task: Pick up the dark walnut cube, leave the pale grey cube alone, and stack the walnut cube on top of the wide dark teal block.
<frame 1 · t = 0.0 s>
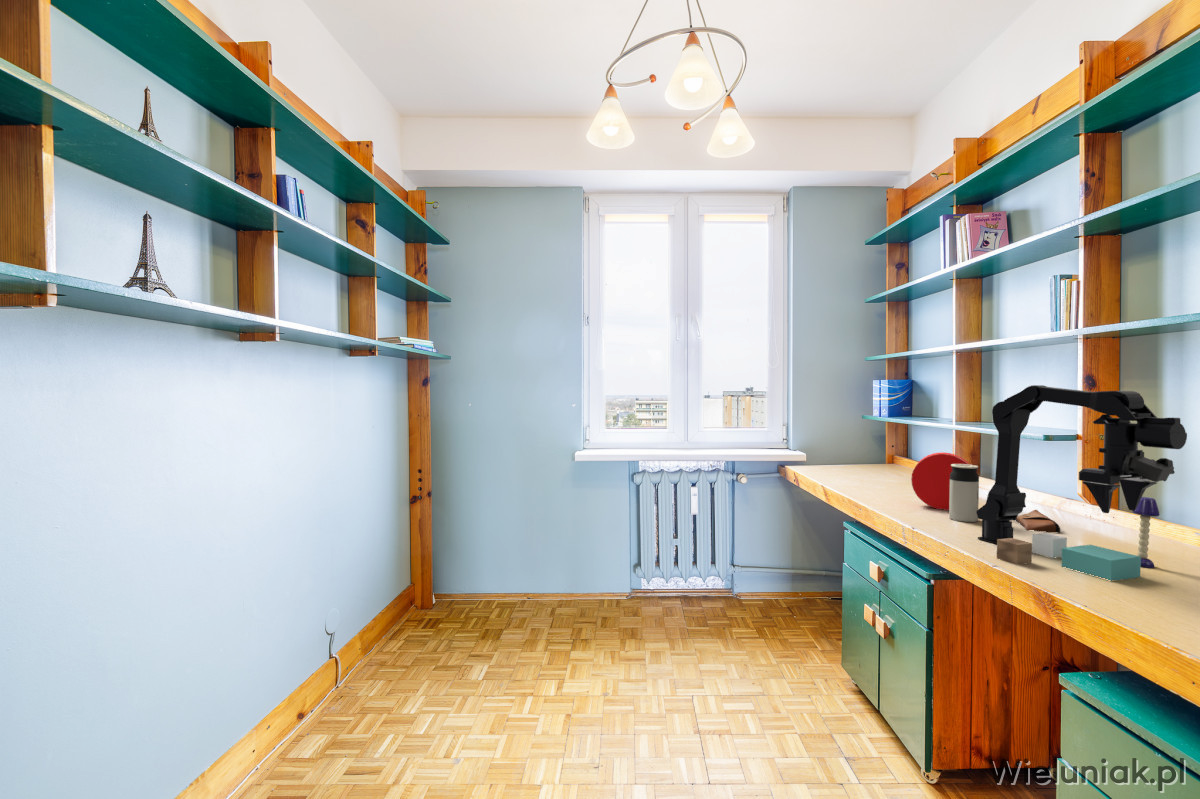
hand: (1119, 511, 126), 15 cm above the table, tool pointing down, fingers open, 9 cm apart
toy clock: (943, 508, 196), on the table
walnut cube: (1013, 561, 136), on the table
sunglasses case: (1033, 527, 172), on the table
grey cube: (1048, 555, 141), on the table
travel mug: (963, 520, 179), on the table
teal base block: (1099, 573, 128), on the table
toy lamp: (1144, 566, 133), on the table
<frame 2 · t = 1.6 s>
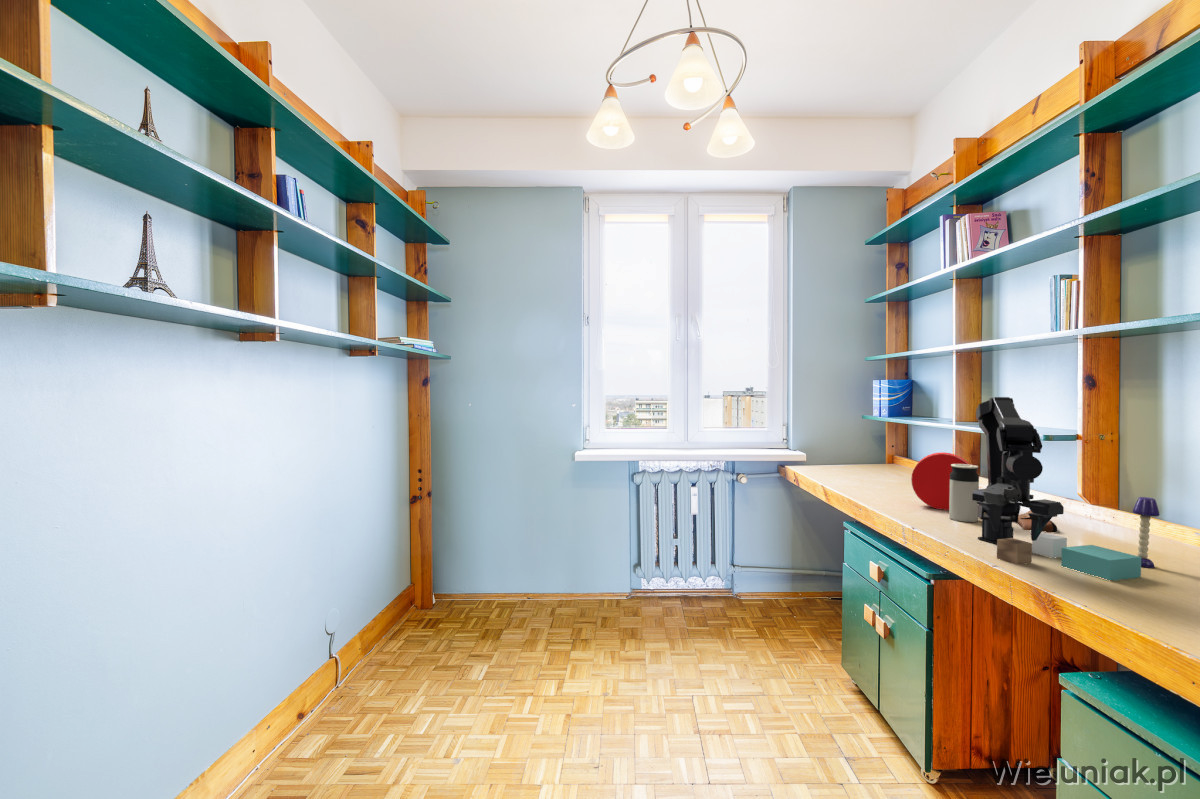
hand: (1014, 535, 136), 6 cm above the table, tool pointing down, fingers open, 9 cm apart
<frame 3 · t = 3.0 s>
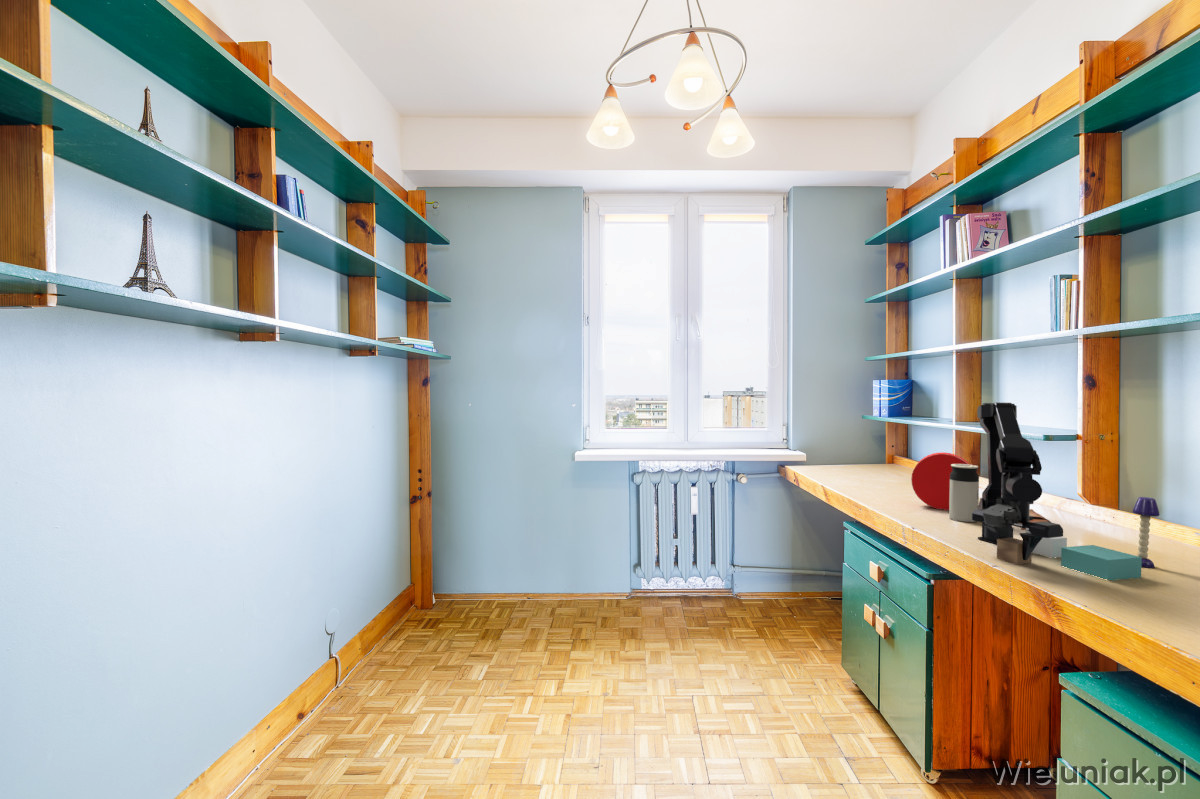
hand: (1014, 556, 136), 1 cm above the table, tool pointing down, fingers closed on walnut cube, 5 cm apart
walnut cube: (1013, 560, 136), on the table, touching gripper
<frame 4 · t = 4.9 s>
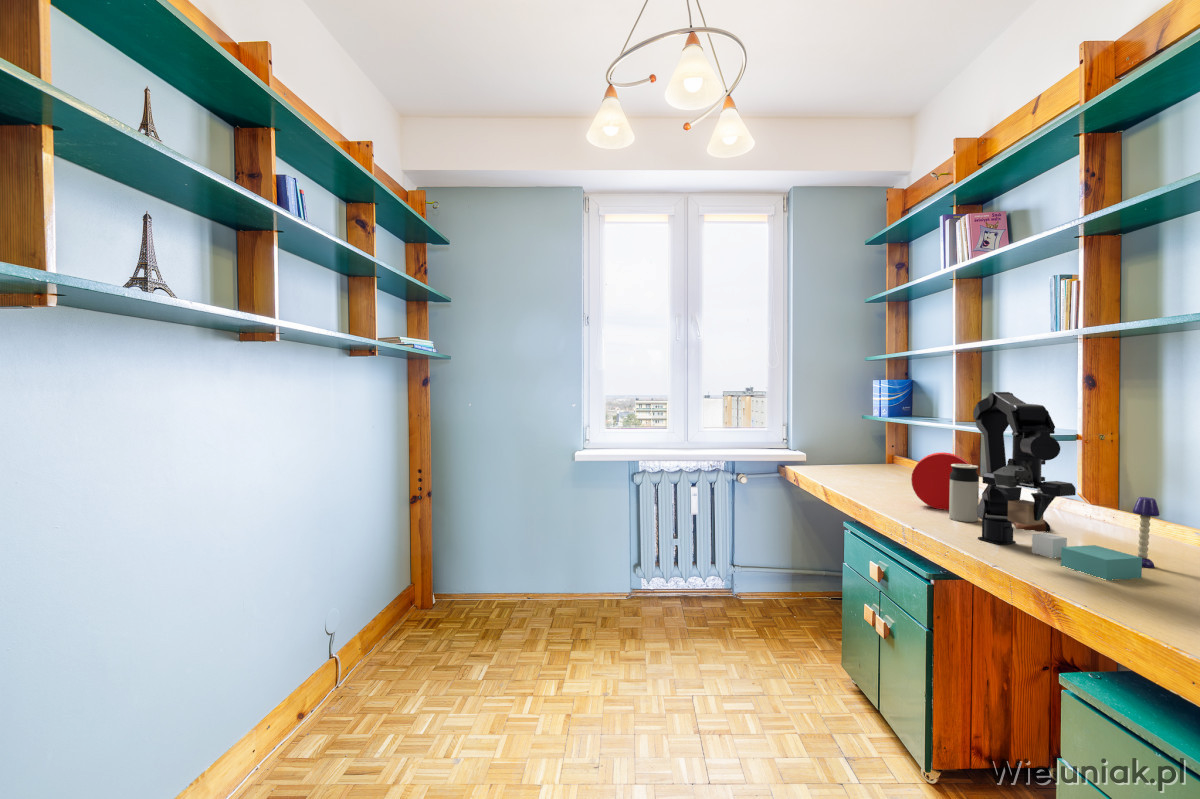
hand: (1025, 518, 135), 11 cm above the table, tool pointing down, fingers closed on walnut cube, 5 cm apart
walnut cube: (1025, 522, 135), point 10 cm above the table, touching gripper
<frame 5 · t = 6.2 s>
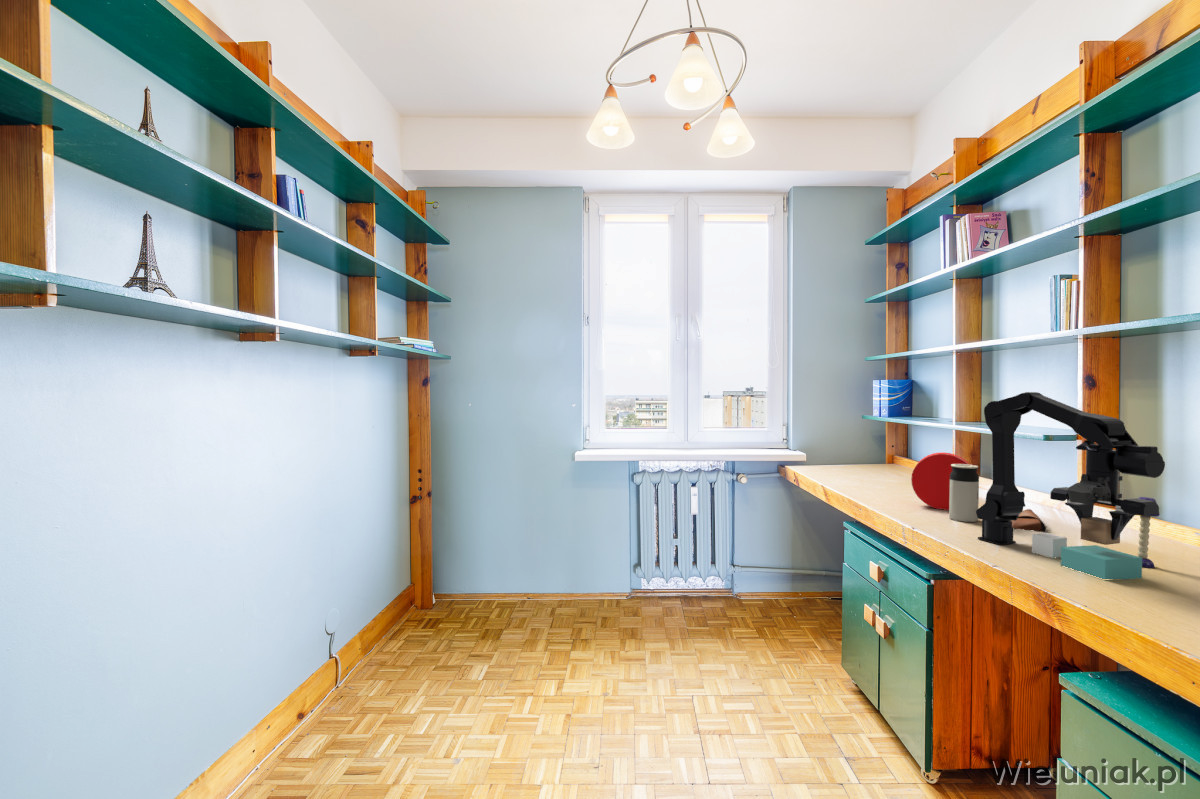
hand: (1100, 536, 128), 8 cm above the table, tool pointing down, fingers closed on walnut cube, 5 cm apart
walnut cube: (1099, 541, 128), point 7 cm above the table, touching gripper
when the fingers open (7 cm above the table, at t = 7.1 s): walnut cube drops 2 cm, resting on teal base block.
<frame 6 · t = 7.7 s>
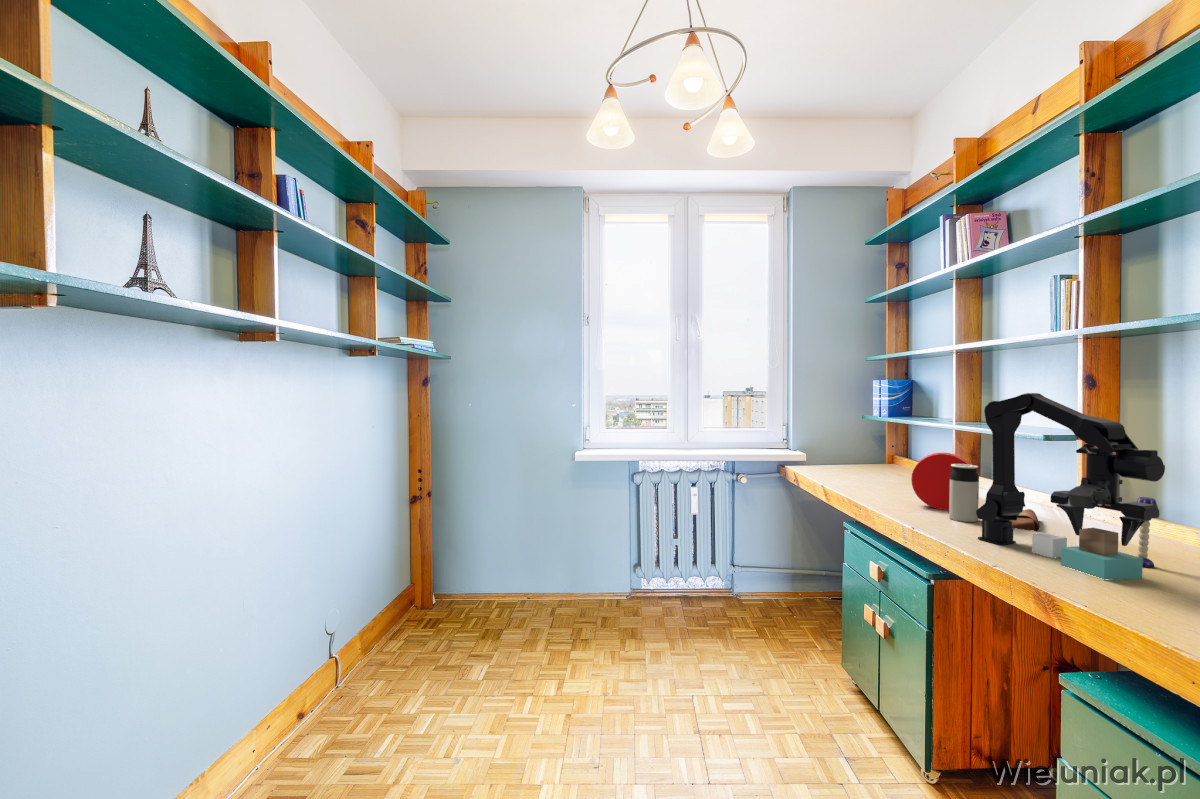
hand: (1100, 540, 128), 7 cm above the table, tool pointing down, fingers open, 9 cm apart
walnut cube: (1098, 551, 128), point 5 cm above the table, touching teal base block
teal base block: (1100, 573, 128), on the table, touching walnut cube
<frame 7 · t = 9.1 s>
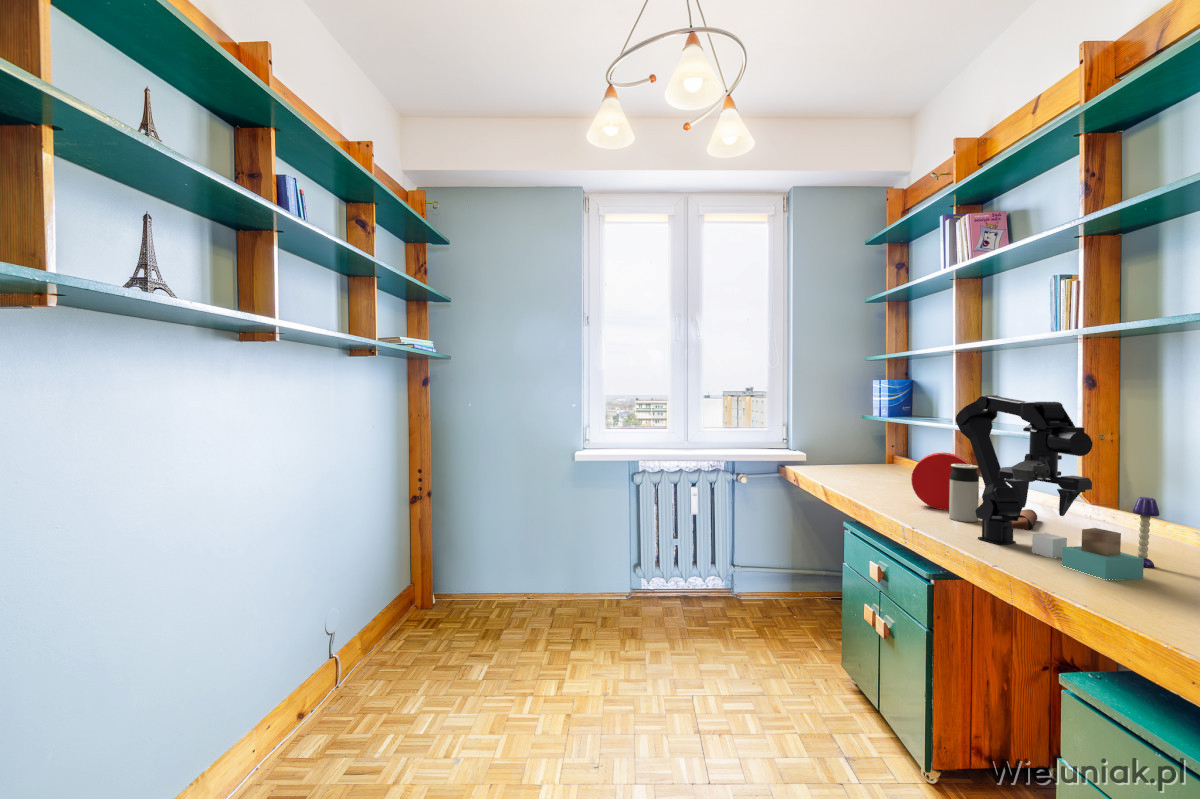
hand: (1041, 511, 139), 12 cm above the table, tool pointing down, fingers open, 9 cm apart
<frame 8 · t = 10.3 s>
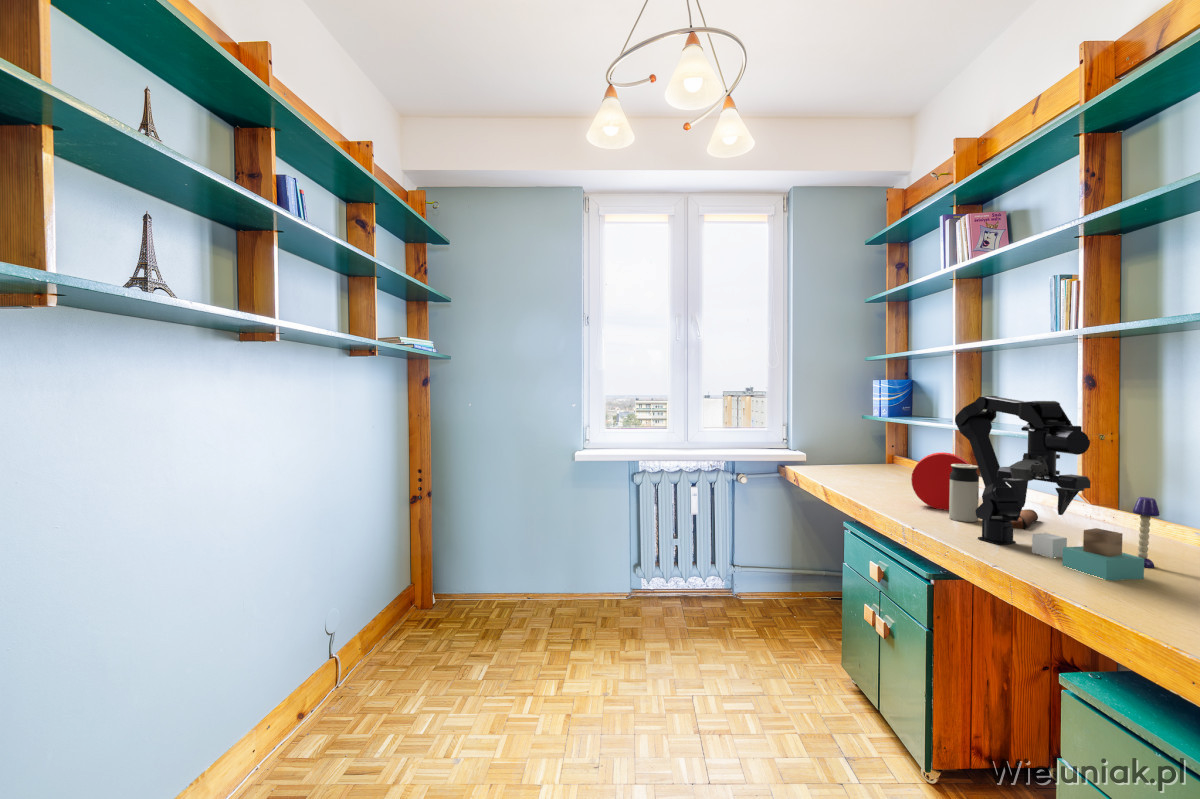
hand: (1040, 510, 139), 12 cm above the table, tool pointing down, fingers open, 9 cm apart
walnut cube: (1102, 552, 128), point 5 cm above the table
teal base block: (1101, 573, 128), on the table
at the end: walnut cube 0.1 cm off-centre on the teal base block, point 5.0 cm above the teal base block's base; walnut cube tilted 0°; grey cube moved 0.1 cm from its start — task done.
